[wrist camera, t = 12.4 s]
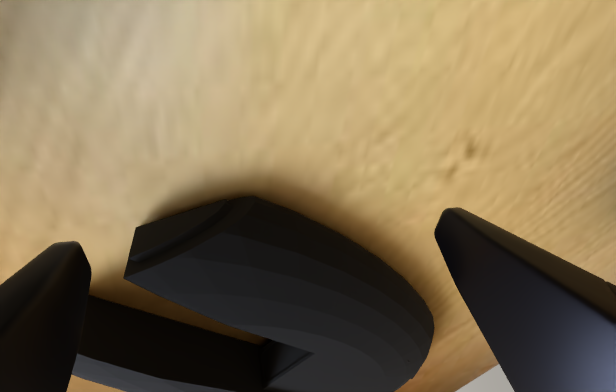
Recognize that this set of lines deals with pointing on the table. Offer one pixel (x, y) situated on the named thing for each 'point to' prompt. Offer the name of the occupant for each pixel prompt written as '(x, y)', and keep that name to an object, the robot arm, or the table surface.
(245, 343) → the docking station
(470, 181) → the table surface
